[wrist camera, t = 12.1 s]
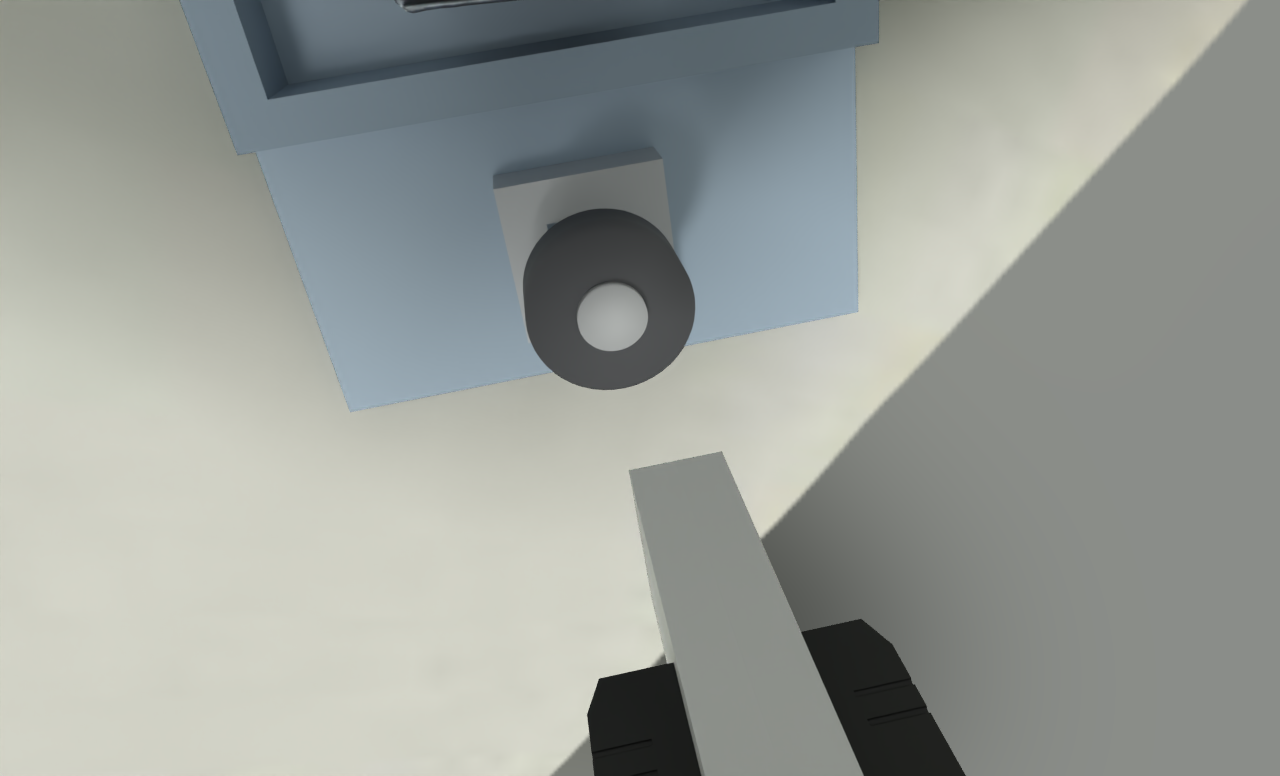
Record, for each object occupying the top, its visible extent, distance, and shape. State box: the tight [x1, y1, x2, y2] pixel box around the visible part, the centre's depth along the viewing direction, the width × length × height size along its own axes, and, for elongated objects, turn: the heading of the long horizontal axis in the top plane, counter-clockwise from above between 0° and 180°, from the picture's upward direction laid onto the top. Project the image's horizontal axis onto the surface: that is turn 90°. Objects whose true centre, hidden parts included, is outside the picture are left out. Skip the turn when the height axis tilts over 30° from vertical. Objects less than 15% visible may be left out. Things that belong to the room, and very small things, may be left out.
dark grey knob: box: [523, 208, 695, 390], centre depth 23 cm, size 4×4×4 cm
